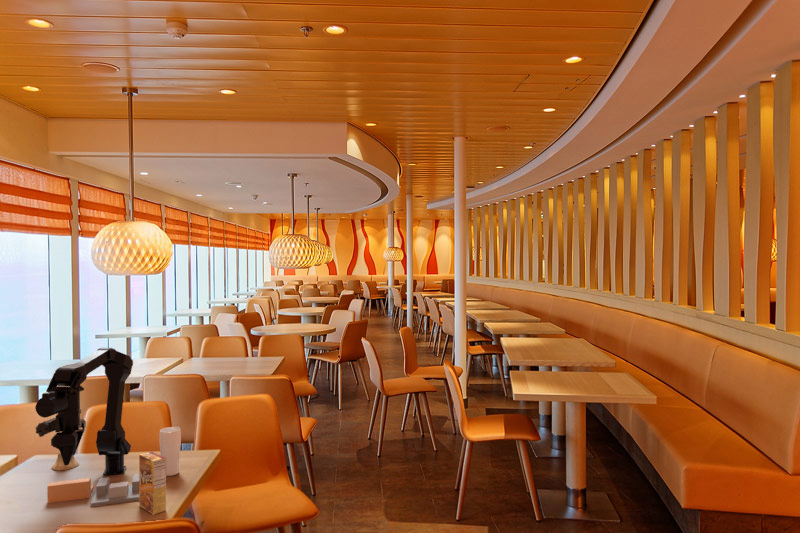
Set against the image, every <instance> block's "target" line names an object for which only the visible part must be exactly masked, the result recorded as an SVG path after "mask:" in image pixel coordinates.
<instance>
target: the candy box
mask: <svg viewBox="0 0 800 533" xmlns="http://www.w3.org/2000/svg"><path fill="white" fill-rule="evenodd" d="M138 457H139V464H138V465H139V471H138V472H139V473H138V474H139V500H138V504H139V505H138V507H140V508H141V509H143V510H145V511H147V512H148V513H150V514H151V515H152V516H154V515H157V514H159V513H162V512H165V511H167V476H166V458H165V457H163V456H161V454H158V453H155V452H154V451H148V452H144V453H140V454H139V456H138Z"/></svg>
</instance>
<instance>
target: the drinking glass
mask: <svg viewBox="0 0 800 533" xmlns="http://www.w3.org/2000/svg"><path fill="white" fill-rule="evenodd" d="M158 437H159V438H158V439H159V441H158V442H159V450H160V451H159V452H160V454H159V455H160V456H163V457H165V458H166V477H172V476H175V475H178V474H179V471H180V457H181V456H180V455H181V442H182V430H181V428H180V427H179V426H168V427H163V428H161V429H160V430H159V436H158Z"/></svg>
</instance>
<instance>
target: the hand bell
mask: <svg viewBox="0 0 800 533" xmlns="http://www.w3.org/2000/svg"><path fill="white" fill-rule="evenodd" d="M79 465H80V463H79V462H78V461H77V460H76V459H75V455H72V457H71V460H70V463H69V465H64V462H63V459H62V456H61V453H60V451H58V453H57V458H56V460H55V462H54V464H53V465H52V467H51V469H52V470H53V471H66V470H71V469H74V468H77V467H78V466H79Z"/></svg>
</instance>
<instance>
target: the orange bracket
mask: <svg viewBox="0 0 800 533" xmlns="http://www.w3.org/2000/svg"><path fill="white" fill-rule="evenodd" d="M91 482H92V478H91V477H86V478H80V479H79V478H78V479H68V480H62V481H61V480H59V481H52V482H49V483H48V485H47V492H46V494H47V504H50V503H51V502H52V503H59V502H66V501H67V502H68V501H73V500H81V499H83V500H84V499H89V498H90V497H91V495H92V492H93V489H94V485H93V484H92V483H91Z"/></svg>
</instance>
